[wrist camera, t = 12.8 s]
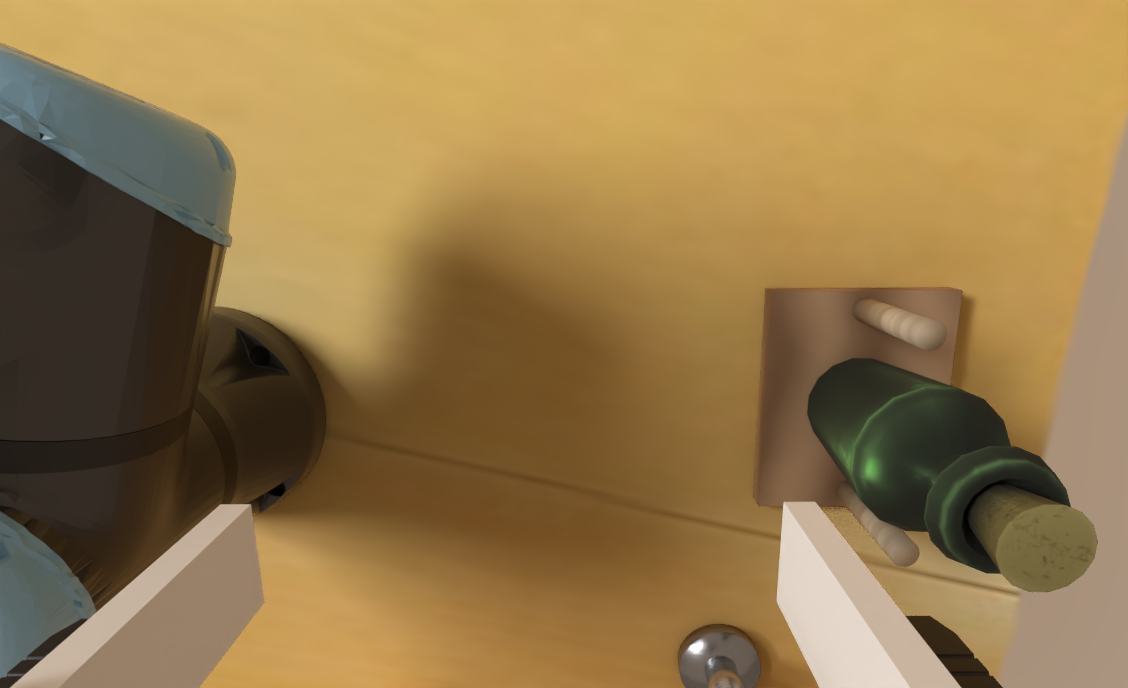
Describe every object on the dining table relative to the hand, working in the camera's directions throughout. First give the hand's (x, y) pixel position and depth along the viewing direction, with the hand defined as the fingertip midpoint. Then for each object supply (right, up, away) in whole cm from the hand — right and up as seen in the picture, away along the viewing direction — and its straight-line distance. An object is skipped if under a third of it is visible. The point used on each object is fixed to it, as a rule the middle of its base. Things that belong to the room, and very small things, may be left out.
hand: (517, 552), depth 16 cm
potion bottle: (+21, +1, +27) cm, 34 cm away
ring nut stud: (+13, -19, +33) cm, 40 cm away
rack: (+21, +2, +28) cm, 35 cm away
